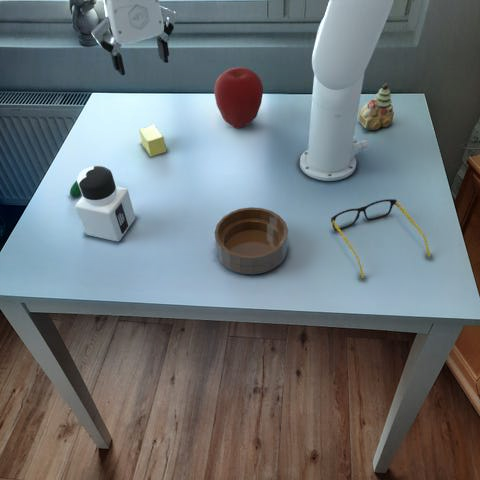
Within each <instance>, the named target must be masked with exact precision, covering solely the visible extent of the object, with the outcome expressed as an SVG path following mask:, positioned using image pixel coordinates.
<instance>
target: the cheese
mask: <svg viewBox="0 0 480 480" xmlns="http://www.w3.org/2000/svg"><path fill="white" fill-rule="evenodd" d="M138 132H139V137H140V141H141V145H142V146H143V148H144V149H145V151H146V152H147V153H148V155H149V156H150V157H155V156H157V155H160V154H163V153H167V147H166V143H165V136H164V135H163V134H162V132H161V131H160V130H159V129H158V127H157V126H156V125H155V124H152V125H149V126H148V125H147V126H146V127H143V128H139V129H138Z"/></svg>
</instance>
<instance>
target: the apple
mask: <svg viewBox="0 0 480 480" xmlns="http://www.w3.org/2000/svg"><path fill="white" fill-rule="evenodd" d="M213 93H214V99H215V103H216V106H217V108H218V111H219V113H220V115H221V117H222V119H223V121H224V122H226V123H227V124H228V125H230V126H231V127H233V128H237V129H239V128H243V127H247V125H249V124H250V123H252V122H253V121H254V120H255V119H256V118H257V117H258V114H259V110H260V108H261V106H262V103H263V102H262V101H263V93H264V86H263V83H262V81H261V78H260V77H259V75H258V74H257V73H255V72H254V71H253V70H251V69H250V68H248V67H241V66H240V67H231V68H228V69H226V70H225V71H224V72H222V74H220V75H219V77H217V79H216V81H215V85H214V90H213Z"/></svg>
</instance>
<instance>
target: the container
mask: <svg viewBox="0 0 480 480" xmlns="http://www.w3.org/2000/svg"><path fill="white" fill-rule="evenodd" d="M76 180H77V183H78V185H79V188H80V191H81V195H82V196H81V197H80V198H79V200H78V201H77V202H76V203H75V205H74V207H75V210H76V212H77V215H78V217H79V220H80V222H81V225H82V227H83V229H84V232H85V234H86V235H87V236H90V237H95V238H100V239H104V240H108V241H113V242H116V243H119V242H120V241H121V240H122V239H123V237H124V236H125V234H126V233H127V231H128V230H129V228H130V227H131V226H132V224H133V223H134V221H136V215H135V211H134V207H133V203H132V201H131V196H130V193H129V190H128V189H127V188H126V187H120V186H117V185H116V182H115V178H114V176H113V172H112V171H111V169H109V168H108V167H106V166H103V165H102V166H101V165H94V166H90V167H87V168H84V169H83V170H82V172H81V171H80V172H79V174H78V175H77V177H76Z"/></svg>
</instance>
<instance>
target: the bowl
mask: <svg viewBox="0 0 480 480" xmlns="http://www.w3.org/2000/svg"><path fill="white" fill-rule="evenodd" d="M214 240H215V242H214V243H215V250H216V255H217V258H218V260H219V261H220V263H222V265H223V266H224V267H225V268H227V269H229V271H233V272H235V273H238V274H243V275H257V274H258V275H259V274H264V273H266V272H269V271H271V270H272V271H273V270H274V269H275V268H277V267H278V266H279V265H281V263H283V261H284V259H285V258H286V256H287V254H288V253H287V252H288V242H289V241H288V240H289V229H288V226H287V222H286V221H285V220H284V219H283V218H282V217H281V216H280V215H279V214H278V213H276V212H274V211H272V210H270V209H267V208H263V207H251V206H250V207H243V208H238V209H236V210H233V211H230V212H228V213H227V214H226V215H224V216H222V217H221V218H220V219H219V221H218V223H217V224H216V225H215V229H214Z"/></svg>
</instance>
